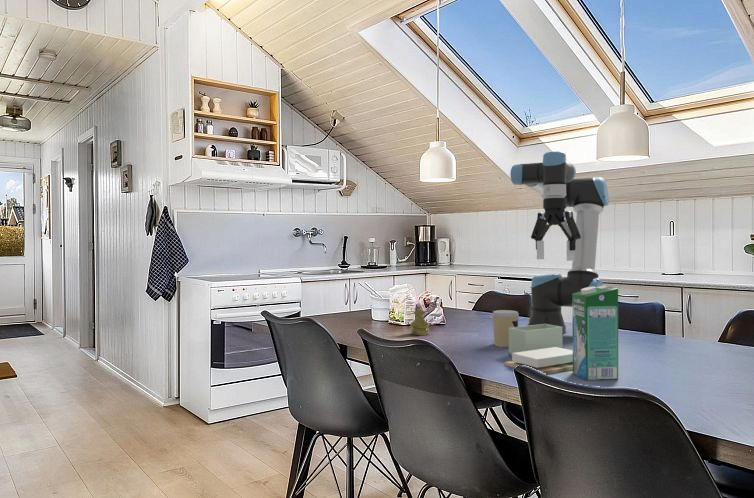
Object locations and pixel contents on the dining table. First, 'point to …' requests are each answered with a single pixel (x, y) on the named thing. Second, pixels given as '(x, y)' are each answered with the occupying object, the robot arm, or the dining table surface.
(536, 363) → the lid
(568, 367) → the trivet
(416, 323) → the olive green tiered cone
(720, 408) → the dining table surface
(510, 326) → the coffee cup
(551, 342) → the box
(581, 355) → the milk carton
